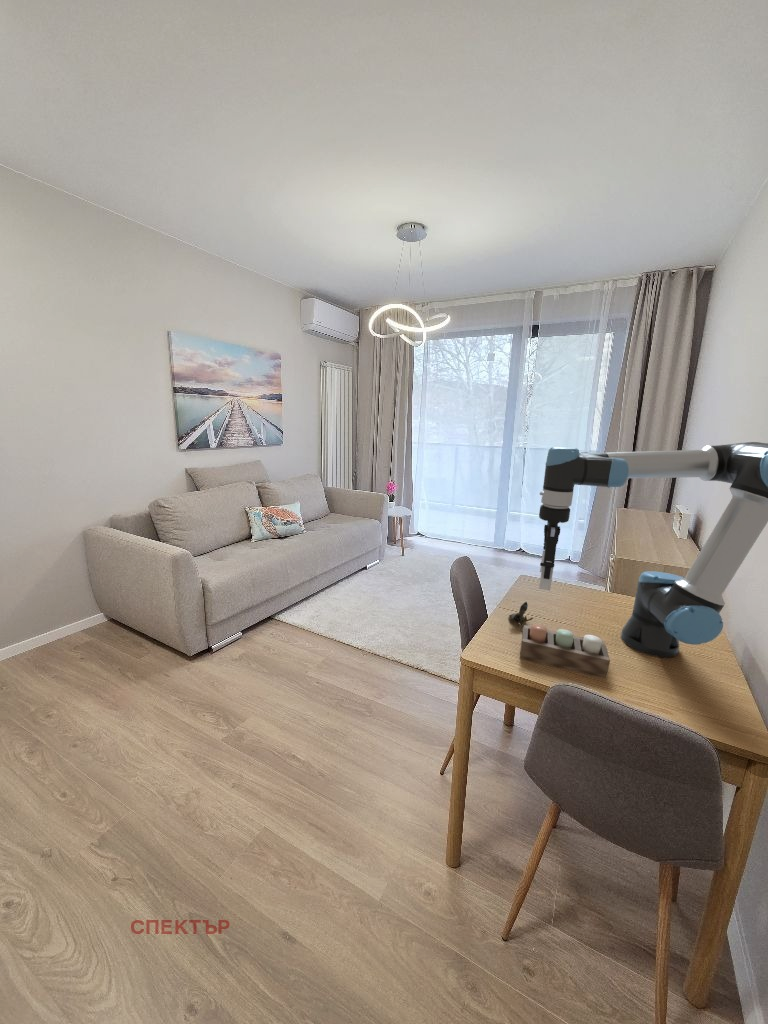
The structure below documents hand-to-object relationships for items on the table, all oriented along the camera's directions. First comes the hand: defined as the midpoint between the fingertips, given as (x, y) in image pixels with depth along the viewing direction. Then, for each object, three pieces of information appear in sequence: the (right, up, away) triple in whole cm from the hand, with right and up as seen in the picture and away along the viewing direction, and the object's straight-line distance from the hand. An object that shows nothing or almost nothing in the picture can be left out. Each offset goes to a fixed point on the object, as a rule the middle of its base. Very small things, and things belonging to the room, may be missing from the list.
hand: (544, 580), depth 115 cm
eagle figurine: (0, -18, +23) cm, 29 cm away
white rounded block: (+12, -21, -1) cm, 24 cm away
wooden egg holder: (+6, -23, +3) cm, 24 cm away
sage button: (+6, -20, +2) cm, 21 cm away
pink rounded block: (-1, -19, +4) cm, 19 cm away
